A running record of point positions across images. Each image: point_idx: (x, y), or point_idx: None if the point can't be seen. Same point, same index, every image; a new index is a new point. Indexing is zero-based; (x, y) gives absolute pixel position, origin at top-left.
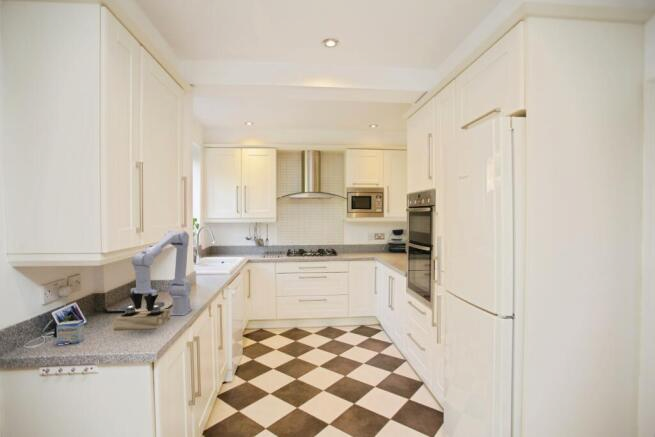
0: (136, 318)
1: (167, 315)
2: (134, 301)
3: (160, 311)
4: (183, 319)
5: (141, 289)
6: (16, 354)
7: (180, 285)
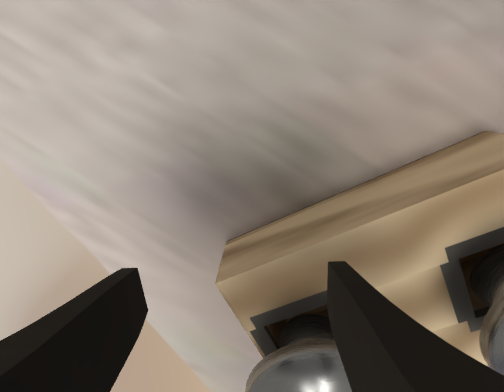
0: (360, 233)
1: None
2: (382, 334)
3: None
4: (217, 369)
5: None
6: None
7: None
